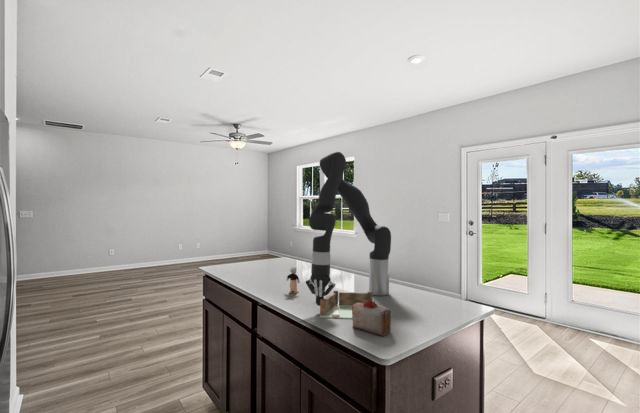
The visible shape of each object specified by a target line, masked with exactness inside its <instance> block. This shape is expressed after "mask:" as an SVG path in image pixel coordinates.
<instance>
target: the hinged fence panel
mask: <svg viewBox="0 0 640 413" xmlns="http://www.w3.org/2000/svg"><path fill="white" fill-rule="evenodd" d="M338 301H339V290H333V291H332V293H331V294H329V295H327V296H325V297H324V299H320V306H319V315H320V314H321V315H325V314H326V312H327V311H329V310H330V309H331V308H333V307H334V306H335V305H337V304H338Z"/></svg>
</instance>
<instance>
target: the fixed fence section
mask: <svg viewBox="0 0 640 413" xmlns="http://www.w3.org/2000/svg"><path fill="white" fill-rule="evenodd" d="M373 296H374V295H373V292H371V291H369V290H368V291H367V292H356V291H355V292H348V291H347V292H346V291H345V292H344V291H338V301H339V305H347V306H352V305H354V304H355V303H365V302H366V303H367V302H368V301H371V302H373V301H374V300H373Z"/></svg>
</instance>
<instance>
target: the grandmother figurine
mask: <svg viewBox="0 0 640 413" xmlns="http://www.w3.org/2000/svg"><path fill="white" fill-rule="evenodd" d="M289 272H290V273H289V274H288V275H287V276H286V281H289V280H290V282H289V290H290V291H289V293H291V294H292V293H293V294H298V293H300V292H299V291H298V286H297V285H298V284H300V283H301V282H300V278H299V276H298V275H297V274H296V273H297V267H296V266H291V267H290V269H289Z"/></svg>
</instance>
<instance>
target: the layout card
mask: <svg viewBox="0 0 640 413" xmlns="http://www.w3.org/2000/svg"><path fill="white" fill-rule="evenodd" d="M319 318H320V319H341V318H343V319H345V320H346V319H347V320H353V318H352V306H347V305H339V300H338V304H337V305H335V306H334V307H333V308H331V309H330V310H329V311H327V312H326V314H325V315H321V314H320V313H319Z"/></svg>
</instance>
